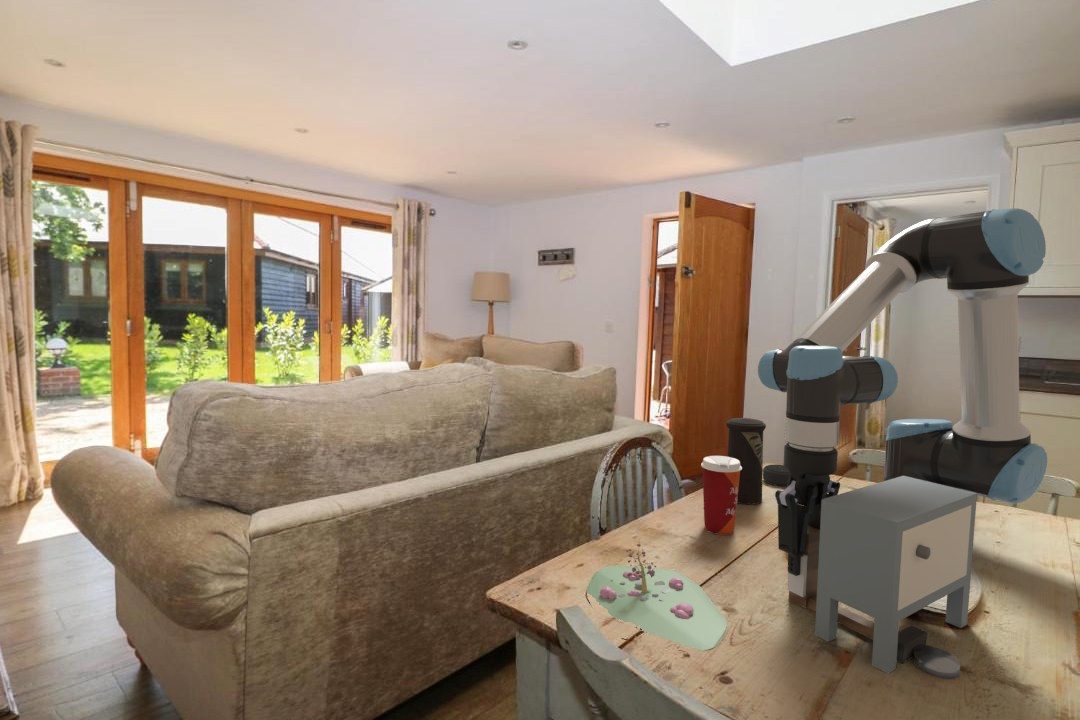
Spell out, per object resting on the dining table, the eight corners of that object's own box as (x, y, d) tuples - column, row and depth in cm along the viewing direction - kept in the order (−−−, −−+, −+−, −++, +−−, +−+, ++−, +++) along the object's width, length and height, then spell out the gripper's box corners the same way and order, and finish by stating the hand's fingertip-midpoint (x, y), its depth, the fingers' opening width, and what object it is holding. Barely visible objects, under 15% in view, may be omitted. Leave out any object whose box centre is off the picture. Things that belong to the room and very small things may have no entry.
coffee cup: (742, 538, 114) (745, 466, 113) (700, 535, 116) (702, 464, 115) (736, 523, 123) (739, 455, 121) (697, 520, 124) (699, 453, 123)
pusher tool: (782, 602, 90) (785, 529, 88) (805, 592, 93) (809, 522, 91) (902, 663, 74) (908, 576, 73) (926, 649, 77) (931, 565, 76)
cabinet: (895, 594, 92) (903, 475, 90) (975, 627, 83) (985, 495, 81) (814, 634, 81) (821, 499, 79) (896, 678, 71) (905, 525, 69)
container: (758, 507, 132) (762, 424, 130) (720, 500, 137) (722, 419, 135) (765, 497, 139) (769, 418, 138) (728, 491, 144) (731, 414, 142)
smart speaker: (764, 486, 149) (765, 471, 148) (761, 476, 157) (761, 462, 157) (801, 489, 146) (801, 474, 146) (795, 479, 155) (796, 465, 155)
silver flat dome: (925, 651, 77) (926, 641, 77) (967, 672, 73) (968, 661, 72) (905, 662, 75) (905, 652, 74) (947, 685, 70) (948, 673, 70)
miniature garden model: (768, 620, 85) (770, 563, 85) (679, 672, 73) (681, 606, 72) (645, 560, 105) (646, 514, 105) (559, 594, 93) (559, 541, 92)
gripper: (819, 434, 95) (812, 568, 97) (756, 446, 86) (750, 592, 89) (864, 444, 88) (855, 587, 90) (800, 457, 80) (793, 614, 82)
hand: (803, 589), depth 90 cm, fingers closed on pusher tool, 3 cm apart
